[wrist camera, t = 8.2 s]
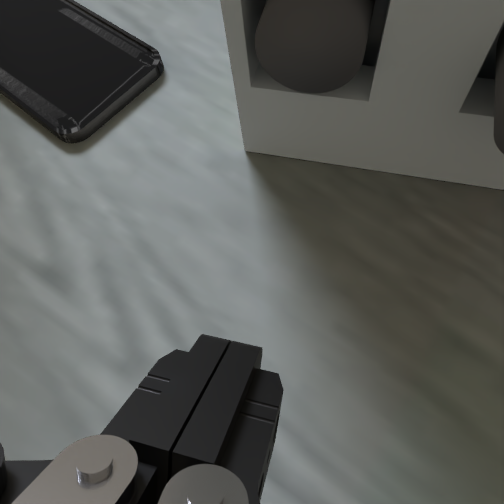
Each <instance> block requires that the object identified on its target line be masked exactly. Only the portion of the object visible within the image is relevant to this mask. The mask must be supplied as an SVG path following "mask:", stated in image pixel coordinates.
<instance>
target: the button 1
mask: <svg viewBox="0 0 504 504" xmlns="http://www.w3.org/2000/svg"><path fill="white" fill-rule="evenodd" d="M374 4H375V0H267V1H266V4H265V7H264V10H263V12H262V15H261V18H260V21H259V24H258V27H257V30H256V33H255V50H256V54H257V57H258V59H259V61H260V63H261V65H262V67H263V68H264V69H265V71H266V72H267V73H268V74H269V75H270V76H271V77H272V78H273V79H274V80H276V81H277V82H278V83H280V84H282V85H283V86H285V87H287V88H290V89H292V90H295V91H299V92H304V93H324V92H329V91H332V90H335V89H338V88H340V87H342V86H343V85H345V84H346V83H348V82H349V81H350V80H351V79H352V78H353V77H354V76H355V75H356V74H357V72H358V71H359V69H360V67H361V65H362V62H363V58H364V54H365V49H366V44H367V39H368V34H369V29H370V24H371V19H372V14H373V9H374Z"/></svg>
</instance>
